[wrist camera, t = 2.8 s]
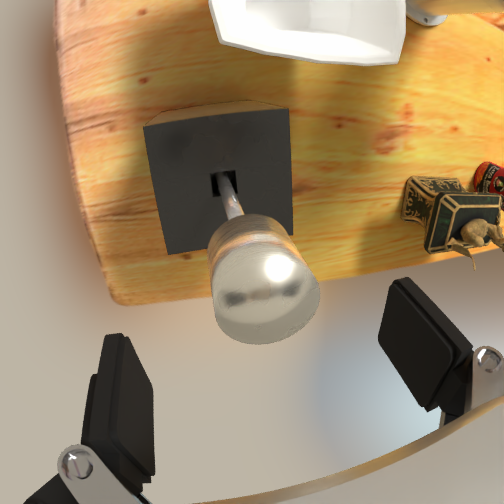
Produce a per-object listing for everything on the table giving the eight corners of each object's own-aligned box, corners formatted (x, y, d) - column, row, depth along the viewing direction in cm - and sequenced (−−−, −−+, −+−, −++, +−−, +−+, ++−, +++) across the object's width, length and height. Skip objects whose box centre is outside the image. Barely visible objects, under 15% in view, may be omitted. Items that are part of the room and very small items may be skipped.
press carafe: (161, 111, 34) (143, 126, 21) (250, 100, 36) (288, 108, 22) (177, 211, 41) (174, 278, 28) (257, 199, 43) (293, 258, 29)
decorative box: (465, 174, 47) (544, 219, 30) (455, 220, 52) (525, 274, 35) (383, 169, 44) (475, 224, 27) (375, 226, 49) (450, 297, 32)
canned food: (482, 154, 46) (523, 173, 36) (498, 170, 48) (536, 190, 39) (467, 187, 49) (507, 211, 39) (485, 201, 51) (521, 224, 42)
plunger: (163, 128, 26) (113, 213, 9) (261, 115, 27) (389, 176, 10) (178, 217, 31) (177, 394, 13) (267, 203, 32) (360, 355, 14)
